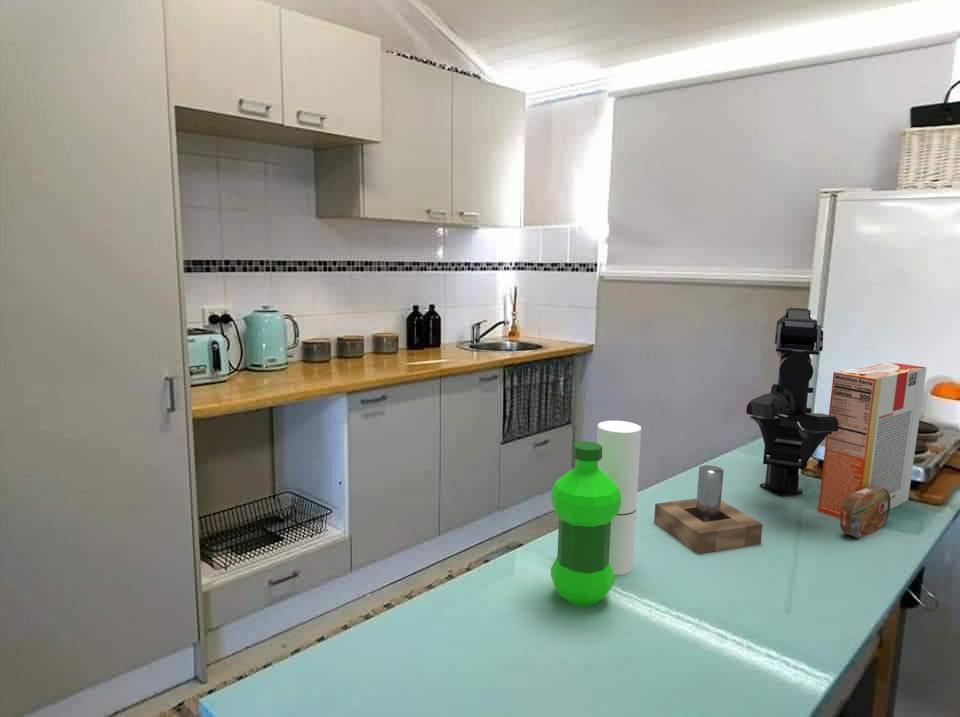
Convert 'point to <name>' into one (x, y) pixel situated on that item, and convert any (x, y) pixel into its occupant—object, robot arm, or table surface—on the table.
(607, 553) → the plastic bottle
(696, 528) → the collar block
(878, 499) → the tin
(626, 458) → the cylindrical container
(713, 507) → the grey glossy round cylinder
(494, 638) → the table surface
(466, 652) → the table surface
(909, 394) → the pasta box
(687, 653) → the table surface
